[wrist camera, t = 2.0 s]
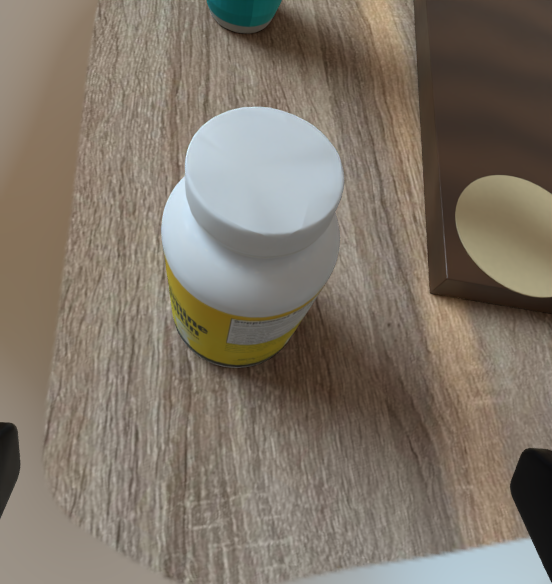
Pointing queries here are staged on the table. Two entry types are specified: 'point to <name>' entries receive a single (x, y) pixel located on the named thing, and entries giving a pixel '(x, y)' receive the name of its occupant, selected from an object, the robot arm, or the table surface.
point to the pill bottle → (251, 233)
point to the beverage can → (243, 14)
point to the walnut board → (487, 148)
